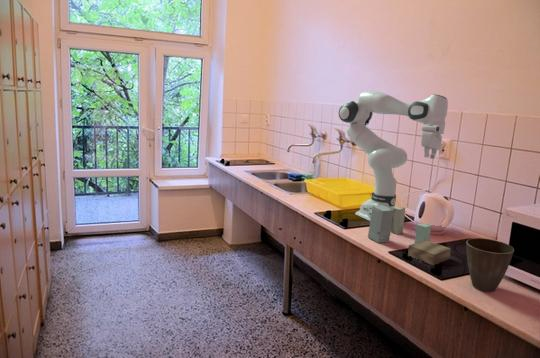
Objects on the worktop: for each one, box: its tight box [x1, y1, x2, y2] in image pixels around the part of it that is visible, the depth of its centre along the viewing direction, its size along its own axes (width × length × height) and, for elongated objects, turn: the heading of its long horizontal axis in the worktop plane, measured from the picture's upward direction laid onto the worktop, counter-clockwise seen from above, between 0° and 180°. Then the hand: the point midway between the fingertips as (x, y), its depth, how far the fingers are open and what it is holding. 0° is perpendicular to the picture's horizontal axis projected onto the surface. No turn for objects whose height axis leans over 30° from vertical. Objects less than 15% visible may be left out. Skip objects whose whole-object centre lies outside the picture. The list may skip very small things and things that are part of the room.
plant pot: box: [465, 237, 515, 293], centre depth 147 cm, size 15×15×16 cm
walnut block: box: [407, 240, 452, 266], centre depth 173 cm, size 12×12×5 cm
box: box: [390, 205, 406, 235], centre depth 202 cm, size 5×4×13 cm
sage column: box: [414, 222, 432, 243], centre depth 189 cm, size 4×4×9 cm
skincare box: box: [367, 205, 394, 244], centre depth 191 cm, size 8×7×16 cm
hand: (429, 158), depth 196 cm, fingers open, 8 cm apart
